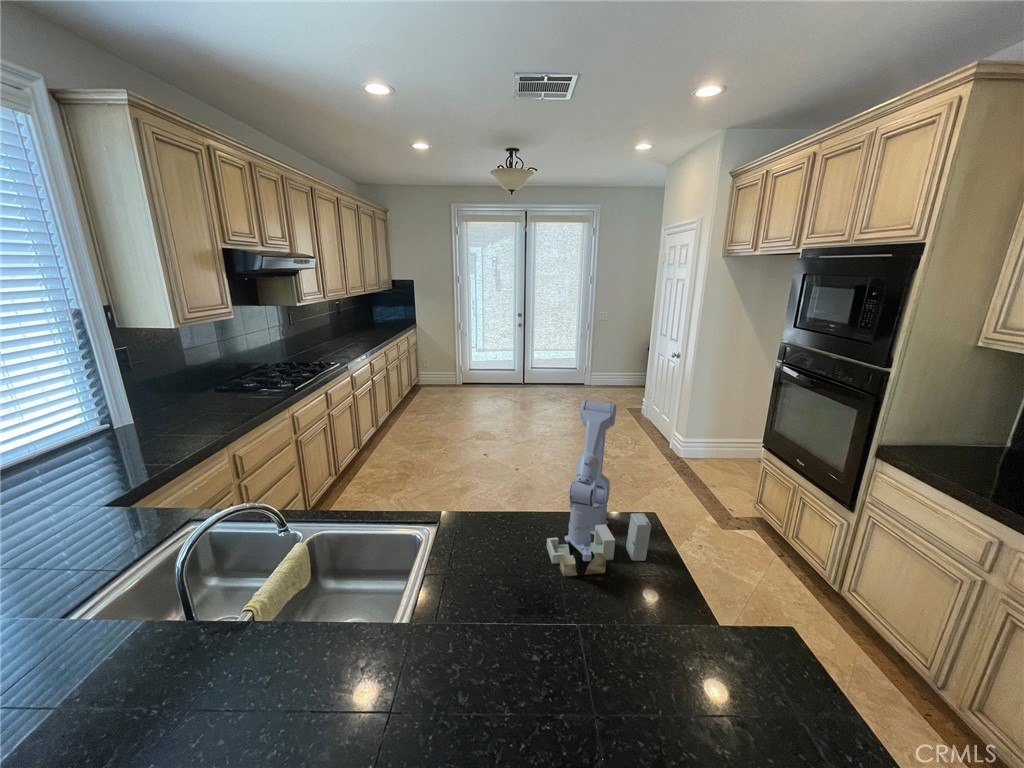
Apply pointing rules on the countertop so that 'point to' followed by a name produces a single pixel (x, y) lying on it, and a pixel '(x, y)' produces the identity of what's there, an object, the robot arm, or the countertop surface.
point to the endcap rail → (601, 544)
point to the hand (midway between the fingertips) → (577, 566)
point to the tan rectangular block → (594, 567)
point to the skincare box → (638, 537)
